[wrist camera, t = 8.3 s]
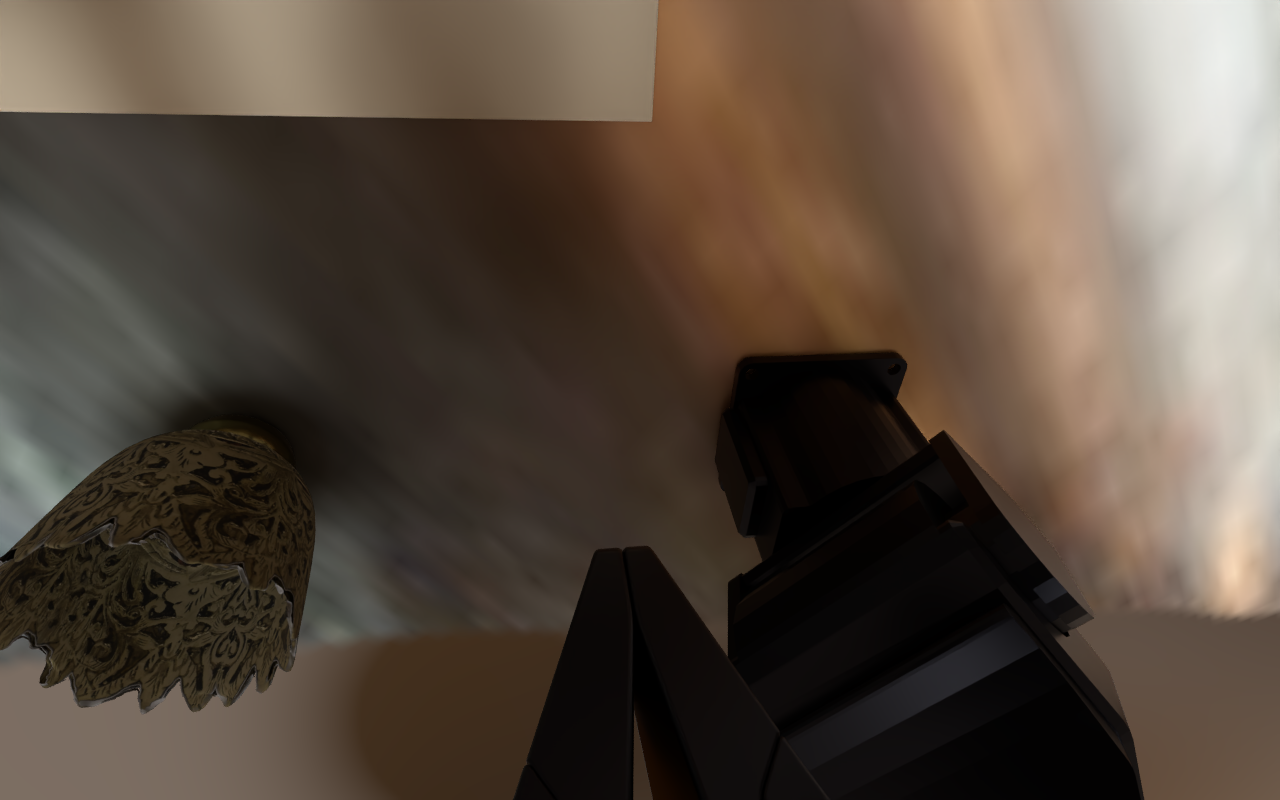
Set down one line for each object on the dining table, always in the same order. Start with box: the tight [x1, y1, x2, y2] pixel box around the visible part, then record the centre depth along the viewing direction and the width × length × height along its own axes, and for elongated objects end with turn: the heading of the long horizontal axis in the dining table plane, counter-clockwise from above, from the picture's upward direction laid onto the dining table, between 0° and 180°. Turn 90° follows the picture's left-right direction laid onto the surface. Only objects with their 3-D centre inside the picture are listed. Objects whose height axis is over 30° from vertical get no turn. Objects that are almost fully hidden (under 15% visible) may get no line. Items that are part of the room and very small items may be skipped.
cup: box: [0, 414, 316, 714], centre depth 20 cm, size 8×7×8 cm
